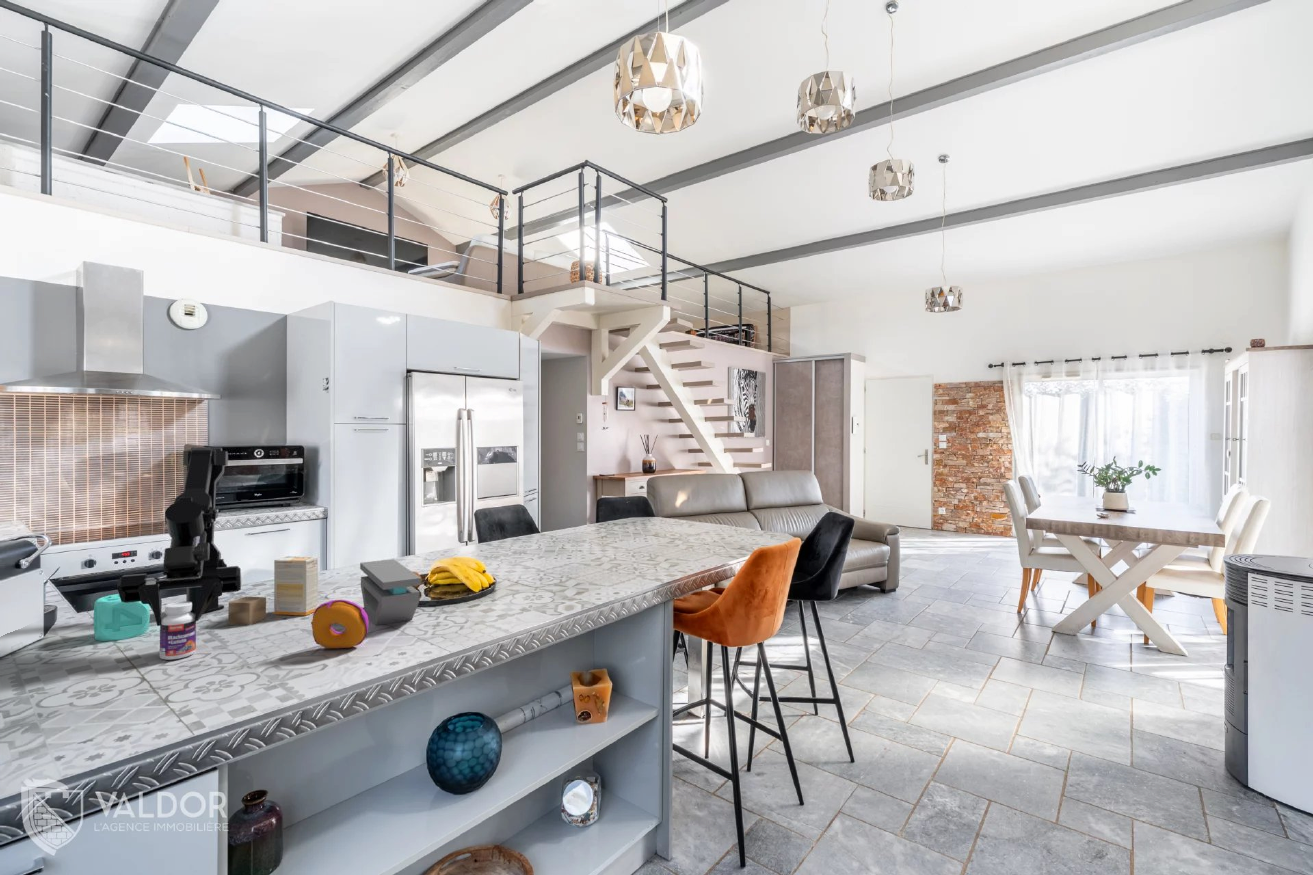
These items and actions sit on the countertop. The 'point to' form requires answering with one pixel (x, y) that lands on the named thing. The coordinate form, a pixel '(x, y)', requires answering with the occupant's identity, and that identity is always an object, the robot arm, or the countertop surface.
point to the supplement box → (295, 585)
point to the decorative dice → (119, 618)
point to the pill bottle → (177, 631)
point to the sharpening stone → (389, 591)
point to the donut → (341, 614)
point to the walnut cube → (246, 610)
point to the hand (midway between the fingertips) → (177, 622)
